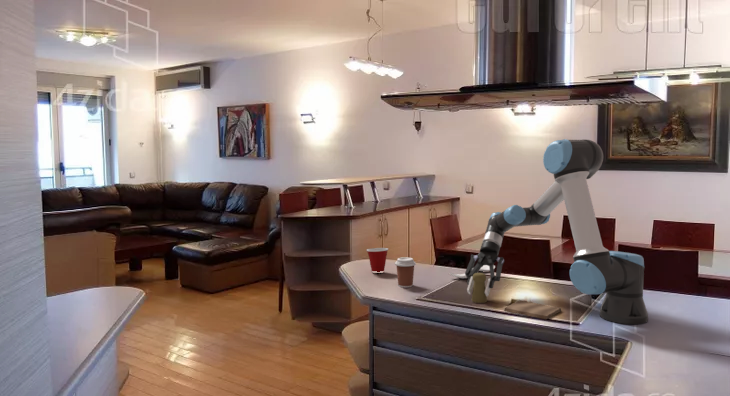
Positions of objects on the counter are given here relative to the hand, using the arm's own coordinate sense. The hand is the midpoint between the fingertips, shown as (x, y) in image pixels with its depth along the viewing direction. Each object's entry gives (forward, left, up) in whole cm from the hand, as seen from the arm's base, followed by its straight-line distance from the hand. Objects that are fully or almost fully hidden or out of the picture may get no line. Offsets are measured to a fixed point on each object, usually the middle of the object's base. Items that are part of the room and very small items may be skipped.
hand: (477, 293), depth 212 cm
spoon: (+25, -41, -4) cm, 48 cm away
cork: (0, -2, -4) cm, 4 cm away
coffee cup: (+37, -3, -4) cm, 38 cm away
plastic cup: (+63, -15, -4) cm, 65 cm away
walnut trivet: (-22, -2, -3) cm, 22 cm away
